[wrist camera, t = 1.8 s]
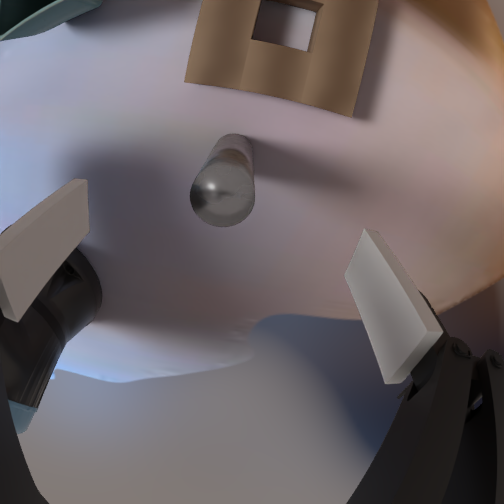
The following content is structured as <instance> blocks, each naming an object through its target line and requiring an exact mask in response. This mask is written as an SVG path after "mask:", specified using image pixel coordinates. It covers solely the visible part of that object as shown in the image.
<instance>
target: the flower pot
mask: <svg viewBox="0 0 504 504" xmlns="http://www.w3.org/2000/svg"><path fill="white" fill-rule="evenodd" d="M101 4H102V0H0V41H4V40H10V39H16V38H22V37H28V36H33V35H37V34H40V33H43V32H45V31H48V30H50V29H52V28H54V27H56V26H58V25H60V24H62V23H64V22H66V21H68V20H70V19H72V18H74V17H76V16H79V15H81V14H83V13H85V12H88V11H90V10H93V9H95V8H97V7H99V6H100V5H101Z"/></svg>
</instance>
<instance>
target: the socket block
mask: <svg viewBox="0 0 504 504" xmlns="http://www.w3.org/2000/svg"><path fill="white" fill-rule="evenodd" d="M261 1H262V0H203V2H202V5H201V9H200V13H199V17H198V21H197V25H196V29H195V33H194V37H193V42H192V46H191V51H190V55H189V60H188V65H187V70H186V75H185V81H184V82H186V83H195V84H204V85H212V86H219V87H226V88H232V89H238V90H244V91H249V92H255V93H260V94H265V95H269V96H274V97H278V98H283V99H287V100H291V101H295V102H299V103H303V104H307V105H311V106H314V107H318V108H321V109H325V110H328V111H332V112H335V113H338V114H341V115H344V116H348V117H351V118H352V114H353V110H354V106H355V103H356V99H357V95H358V91H359V87H360V83H361V79H362V75H363V71H364V67H365V63H366V59H367V54H368V50H369V45H370V41H371V36H372V32H373V27H374V22H375V17H376V12H377V7H378V2H379V0H268V1H273V2H278V3H282V4H287V5H291V6H295V7H299V8H303V9H307V10H311V11H314V12H316V16H315V21H314V25H313V29H312V33H311V37H310V42H309V46H308V50H307V52H306V51H302V50H298V49H294V48H290V47H286V46H282V45H277V44H273V43H268V42H263V41H258V40H252V37H253V33H254V29H255V25H256V21H257V17H258V13H259V9H260V5H261Z"/></svg>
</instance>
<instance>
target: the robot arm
mask: <svg viewBox="0 0 504 504" xmlns="http://www.w3.org/2000/svg"><path fill="white" fill-rule="evenodd" d="M89 232H90V226H89V210H88V182H87V180H85V179H75V178H74V179H73V180H71V181H70V182H68V183H67V184H66V185H64V186H63V187H61V188H60V189H58V190H57V191H55V192H54V193H53V194H51V195H50V196H48V197H47V198H46V199H44V200H43V201H42V202H40V203H39V204H38V205H36V206H35V207H34V208H32V209H31V210H30V211H29V212H27V213H26V214H25V215H24V216H22V217H21V218H20V219H19V220H17V221H16V222H15V223H14V224H12V225H10V226H9V227H7V228H6V229H5V230H4V231H3V232H2V233H1V235H0V504H49V503H48V502H47V501H46V500H45V498H44V497H43V496H42V495H41V494H40V492H39V491H38V489H37V487H36V486H35V483H34V481H33V478H32V476H31V474H30V471H29V468H28V466H27V463H26V461H25V458H24V455H23V452H22V449H21V446H20V443H19V440H18V436H17V434H19V433H23V432H25V431H26V430H27V428H28V426H29V424H30V422H31V420H32V418H33V416H34V413H35V412H37V410H38V406H39V404H40V401H41V399H42V396H43V393H44V391H45V389H46V386H47V384H48V382H49V379H50V377H51V375H52V372H53V370H54V368H55V366H56V363H57V361H58V359H59V357H60V355H61V353H62V351H63V349H64V347H65V345H66V343H67V342H68V341H70V340H71V339H72V338H73V337H74V336H75V335H76V334H77V333H79V332H80V331H81V330H82V329H83V328H84V327H85V326H87V325H88V324H90V323H91V321H92V320H93V319H94V317H95V315H96V313H97V311H98V309H99V308H100V305H101V300H102V292H101V287H100V283H99V280H98V278H97V276H96V273H95V272H94V270H93V268H92V267H91V265H90V264H89V262H88V261H87V260H86V258H85V257H84V256H83V255H82V254H81V253H80V252H79V251H78V250H77V249H76V247H77V245H78V244H79V243H80V242H81V241H82V240H83V239H84V237H85V236H86V235H87V234H88V233H89ZM344 276H345V279H346V281H347V283H348V286H349V288H350V291H351V293H352V295H353V298H354V300H355V303H356V305H357V308H358V310H359V313H360V316H361V318H362V321H363V323H364V326H365V329H366V331H367V334H368V337H369V339H370V342H371V344H372V347H373V350H374V353H375V356H376V359H377V361H378V364H379V367H380V370H381V373H382V376H383V379H384V382H385V384H395V383H402V382H403V381H404V379H405V378H406V377H407V376H408V375H409V374H410V373H411V376H412V378H413V381H412V382H411V383H410V384H409V385H408V386H407V387H406V388H405V390H403V391H402V393H401V394H399V396H398V397H397V398H398V399H400V398H401V397H402V396H403V395H404V398H403V400H402V402H401V404H400V407H399V409H398V411H397V413H396V416H395V418H394V420H393V422H392V424H391V427H390V429H389V431H388V433H387V435H386V437H385V439H384V441H383V443H382V445H381V447H380V449H379V451H378V452H377V454H376V456H375V458H374V460H373V461H372V463H371V465H370V467H369V469H368V470H367V472H366V474H365V475H364V477H363V479H362V480H361V482H360V484H359V485H358V487H357V488H356V490H355V491H354V493H353V494H352V496H351V497H350V499H349V500H348V502H347V504H504V360H503V358H502V356H501V355H499V353H498V352H496V351H494V350H491V349H489V350H487V351H486V352H485V353H484V354H483V355H482V357H481V358H479V357H476V356H473V355H472V352H471V350H470V348H469V347H468V346H467V344H465V343H464V342H463V341H462V340H460V339H458V338H455V337H451V338H450V336H449V335H448V333H447V331H446V329H445V328H444V326H443V324H442V323H441V321H440V320H439V318H438V316H437V315H435V314H436V313H435V311H434V309H433V308H431V305H430V303H429V301H428V300H427V298H426V297H425V296H424V295H423V294H422V293H421V292H420V291H419V290H418V289H417V288H416V286H415V284H414V283H413V281H412V280H411V278H410V277H409V275H408V274H407V272H406V271H405V270H404V268H403V267H402V265H401V264H400V262H399V261H398V259H397V258H396V257H395V255H394V254H393V252H392V251H391V249H390V248H389V247H388V245H387V244H386V243H385V241H384V240H383V238H382V237H381V236H380V234H379V233H378V232H377V231H373V230H368V229H364V230H363V233H362V235H361V237H360V240H359V242H358V245H357V247H356V249H355V252H354V254H353V256H352V259H351V261H350V263H349V266H348V268H347V270H346V272H345V275H344ZM481 397H482V400H483V403H482V404H481V405H480V406H479V407H478V408H477V409H474V404H475V403H476V402H477V401H478V400H479V399H480V398H481Z"/></svg>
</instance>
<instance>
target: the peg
mask: <svg viewBox="0 0 504 504" xmlns="http://www.w3.org/2000/svg"><path fill="white" fill-rule="evenodd" d="M190 201H191V205H192V208H193V210H194V212H195V213H196V214H197V215H198V217H199V218H201V219H202V220H203V221H205V222H206V223H208V224H210V225H213V226H218V227H228V226H233V225H236V224H238V223H240V222H242V221H243V220H244V219H245V218H246V217H247V216H248V215H249V214H250V212H251V211H252V209H253V206H254V202H255V188H254V168H253V150H252V146H251V144H250V142H249V141H248V140H247V139H246V138H245V137H244V136H242V135H239V134H228V135H225V136H223V137H222V138H220V139H219V140H218V142H217V143H216V145H215V147H214V148H213V150H212V151H211V153H210V155H209V157H208V158H207V160H206V162H205V163H204V165H203V167H202V168H201V170H200V172H199V174H198V175H197V177H196V179H195V181H194V183H193V184H192V187H191V191H190Z"/></svg>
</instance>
